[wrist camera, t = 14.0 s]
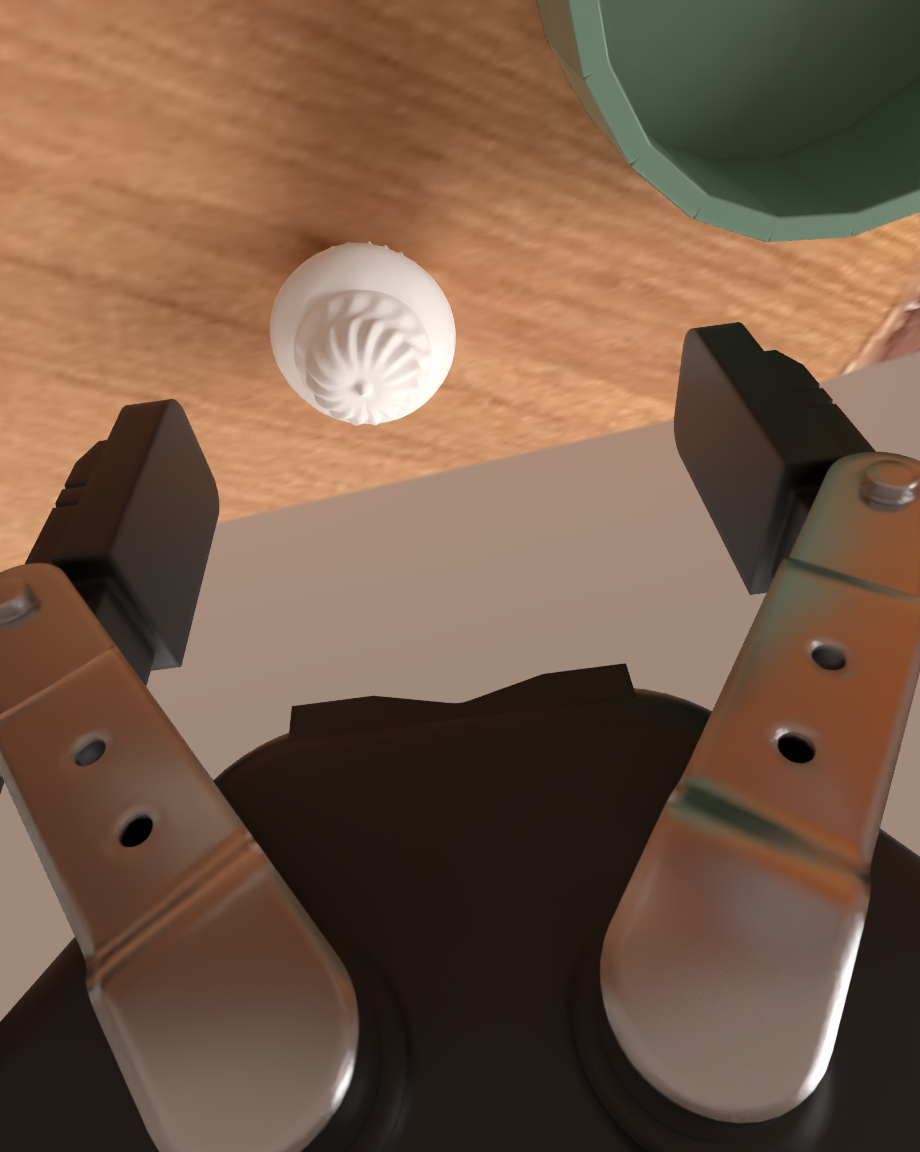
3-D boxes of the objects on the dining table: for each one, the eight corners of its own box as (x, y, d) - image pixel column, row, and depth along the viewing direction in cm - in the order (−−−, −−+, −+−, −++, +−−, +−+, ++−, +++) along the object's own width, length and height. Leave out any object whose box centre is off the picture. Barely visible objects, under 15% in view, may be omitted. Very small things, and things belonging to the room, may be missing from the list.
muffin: (266, 206, 24) (237, 295, 19) (449, 204, 24) (466, 291, 19) (293, 373, 28) (275, 481, 23) (447, 370, 29) (462, 475, 24)
